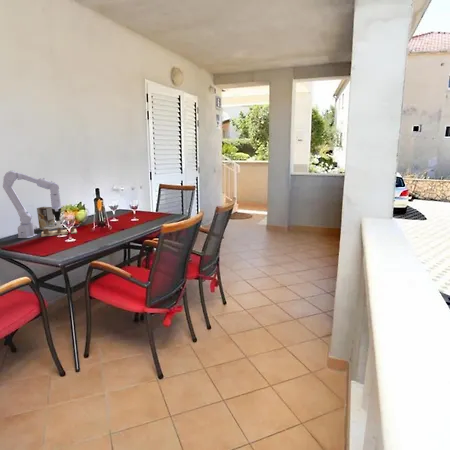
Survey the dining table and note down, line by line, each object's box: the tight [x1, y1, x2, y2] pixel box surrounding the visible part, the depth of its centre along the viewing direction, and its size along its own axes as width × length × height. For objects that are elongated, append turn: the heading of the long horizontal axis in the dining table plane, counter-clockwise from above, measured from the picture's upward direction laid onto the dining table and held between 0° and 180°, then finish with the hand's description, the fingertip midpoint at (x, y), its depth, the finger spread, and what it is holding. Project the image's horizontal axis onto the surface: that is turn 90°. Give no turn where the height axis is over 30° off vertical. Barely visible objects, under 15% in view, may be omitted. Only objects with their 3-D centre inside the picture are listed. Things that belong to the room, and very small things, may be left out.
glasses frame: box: [44, 220, 65, 230], centre depth 236 cm, size 18×4×6 cm, turn 116°
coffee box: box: [36, 206, 56, 231], centre depth 248 cm, size 9×6×16 cm
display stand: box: [40, 225, 78, 237], centre depth 237 cm, size 22×10×4 cm, turn 116°
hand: (57, 219), depth 235 cm, fingers open, 7 cm apart
